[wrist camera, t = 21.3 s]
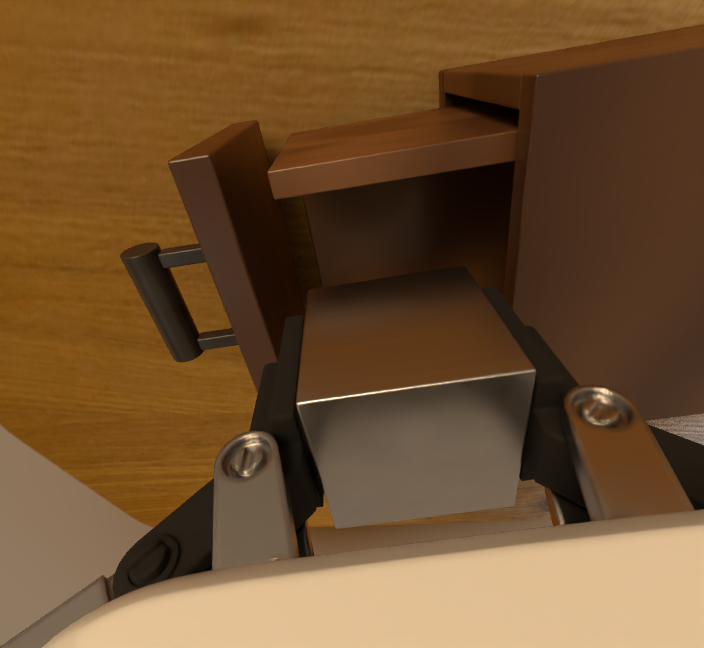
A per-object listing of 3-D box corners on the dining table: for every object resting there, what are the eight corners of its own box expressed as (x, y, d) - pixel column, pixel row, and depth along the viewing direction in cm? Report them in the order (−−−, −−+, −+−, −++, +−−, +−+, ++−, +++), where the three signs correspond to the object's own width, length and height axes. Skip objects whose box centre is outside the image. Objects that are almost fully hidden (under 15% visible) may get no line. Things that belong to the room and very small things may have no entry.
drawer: (223, 345, 23) (180, 454, 17) (137, 140, 17) (14, 186, 10) (520, 302, 22) (596, 399, 16) (547, 70, 16) (693, 72, 9)
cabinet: (442, 313, 24) (498, 440, 16) (438, 70, 17) (536, 74, 9) (687, 278, 23) (876, 391, 15) (791, 9, 16) (1252, -49, 8)
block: (333, 400, 13) (335, 529, 9) (306, 289, 11) (294, 404, 7) (462, 382, 13) (515, 506, 9) (465, 264, 10) (537, 369, 7)
